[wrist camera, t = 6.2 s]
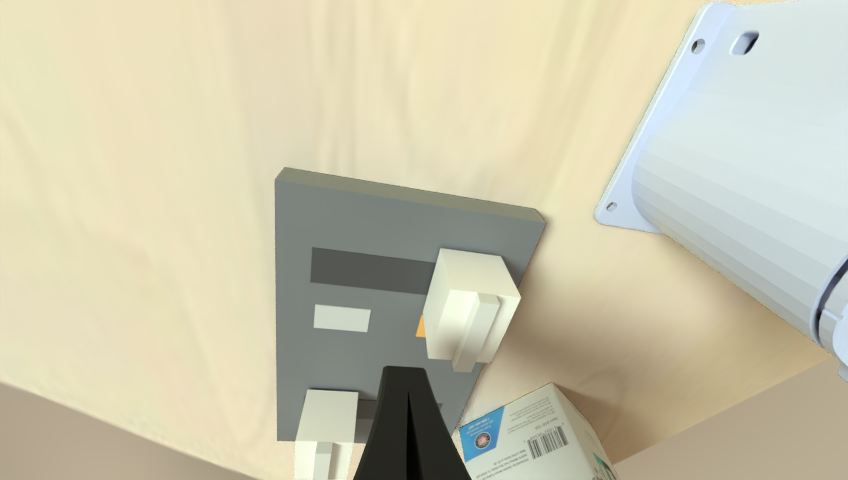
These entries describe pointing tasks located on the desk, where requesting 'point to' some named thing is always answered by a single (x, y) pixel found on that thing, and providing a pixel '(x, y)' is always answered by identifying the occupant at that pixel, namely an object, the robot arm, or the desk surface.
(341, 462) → the switch tab
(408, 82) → the desk surface
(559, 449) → the ink box
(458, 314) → the switch tab
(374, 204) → the switch board
